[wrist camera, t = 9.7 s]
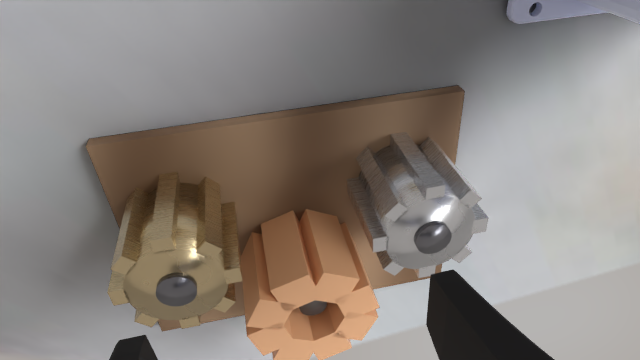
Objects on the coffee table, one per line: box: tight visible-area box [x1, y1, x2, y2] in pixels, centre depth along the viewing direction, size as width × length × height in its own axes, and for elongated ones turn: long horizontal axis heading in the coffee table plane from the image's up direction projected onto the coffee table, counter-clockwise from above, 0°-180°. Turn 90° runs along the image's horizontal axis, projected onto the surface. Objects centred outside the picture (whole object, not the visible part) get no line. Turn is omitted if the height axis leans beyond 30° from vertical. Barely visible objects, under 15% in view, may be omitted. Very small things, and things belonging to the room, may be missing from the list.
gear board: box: [86, 86, 465, 331], centre depth 20 cm, size 15×11×4 cm
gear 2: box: [347, 132, 488, 278], centre depth 19 cm, size 5×5×4 cm
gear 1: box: [107, 172, 243, 329], centre depth 18 cm, size 5×5×4 cm
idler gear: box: [241, 209, 380, 360], centre depth 21 cm, size 5×5×4 cm
